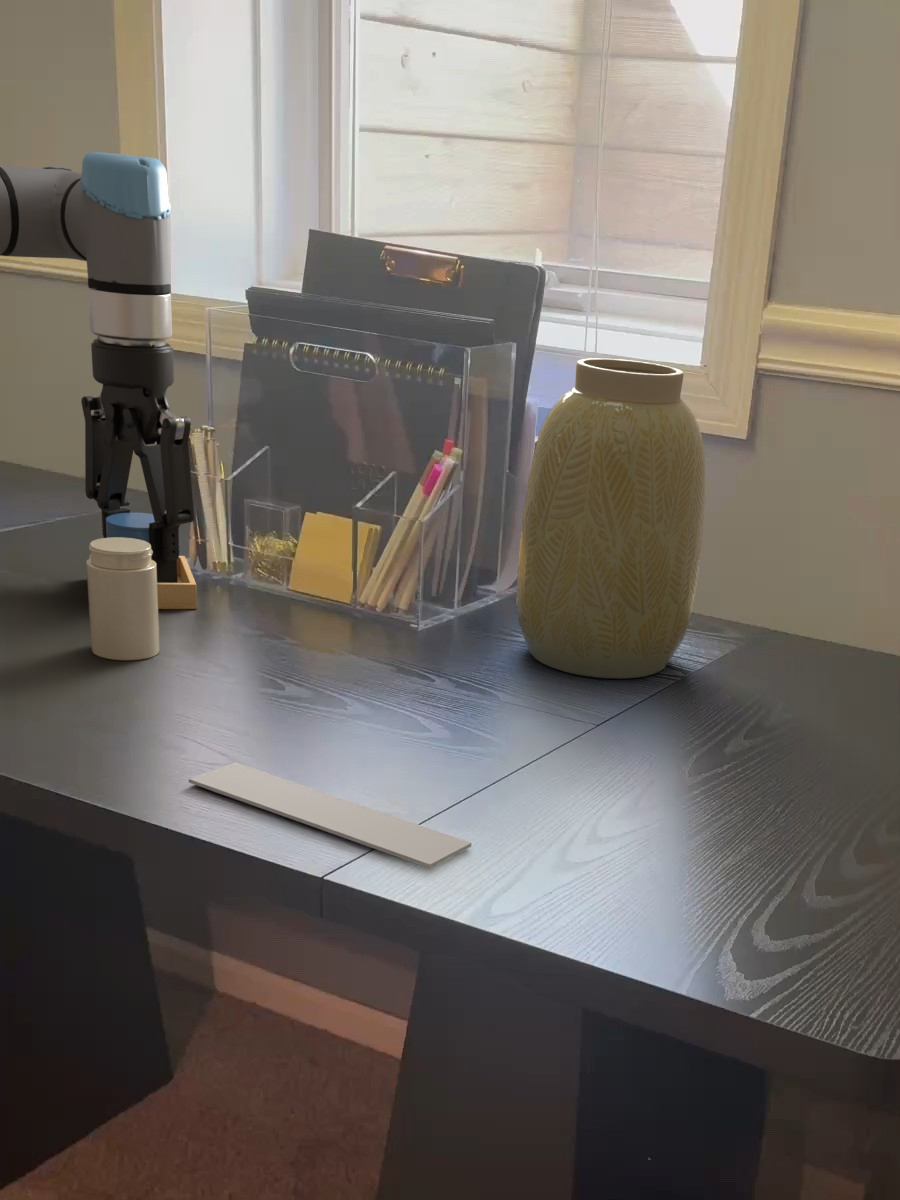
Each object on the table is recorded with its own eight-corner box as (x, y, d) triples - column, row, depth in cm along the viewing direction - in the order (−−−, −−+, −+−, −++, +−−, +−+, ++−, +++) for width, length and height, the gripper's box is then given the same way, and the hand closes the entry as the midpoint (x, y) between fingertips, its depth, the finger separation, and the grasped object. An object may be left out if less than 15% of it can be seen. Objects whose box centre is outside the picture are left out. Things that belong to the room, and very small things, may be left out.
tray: (90, 578, 153) (89, 554, 152) (185, 579, 156) (185, 555, 155) (96, 609, 144) (95, 583, 143) (197, 609, 147) (196, 584, 146)
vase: (568, 693, 134) (600, 380, 121) (479, 638, 146) (500, 349, 133) (719, 678, 142) (764, 383, 129) (622, 627, 155) (655, 354, 142)
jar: (77, 648, 133) (70, 541, 128) (131, 636, 137) (126, 533, 133) (119, 664, 130) (114, 556, 125) (173, 652, 134) (170, 547, 129)
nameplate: (235, 766, 111) (188, 783, 107) (235, 761, 111) (188, 778, 107) (471, 847, 102) (429, 869, 98) (471, 842, 102) (430, 864, 98)
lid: (92, 535, 147) (91, 516, 146) (146, 528, 151) (145, 509, 150) (133, 549, 143) (132, 530, 142) (186, 541, 148) (186, 523, 147)
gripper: (231, 353, 136) (234, 599, 147) (100, 324, 146) (112, 556, 157) (167, 356, 131) (174, 611, 142) (35, 326, 141) (52, 566, 152)
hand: (141, 582), depth 149 cm, fingers closed on lid, 6 cm apart
